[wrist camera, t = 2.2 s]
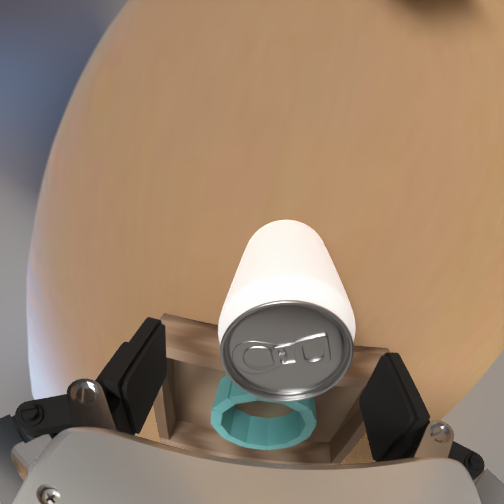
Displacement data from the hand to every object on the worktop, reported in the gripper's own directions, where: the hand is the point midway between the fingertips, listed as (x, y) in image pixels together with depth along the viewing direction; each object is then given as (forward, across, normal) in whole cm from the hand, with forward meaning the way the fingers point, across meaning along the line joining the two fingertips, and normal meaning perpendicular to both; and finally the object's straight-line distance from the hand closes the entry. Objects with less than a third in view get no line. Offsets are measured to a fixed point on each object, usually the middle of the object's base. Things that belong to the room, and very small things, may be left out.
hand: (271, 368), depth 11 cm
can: (+12, -1, -1) cm, 12 cm away
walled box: (+12, -2, +15) cm, 20 cm away
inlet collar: (+11, -2, +14) cm, 18 cm away
